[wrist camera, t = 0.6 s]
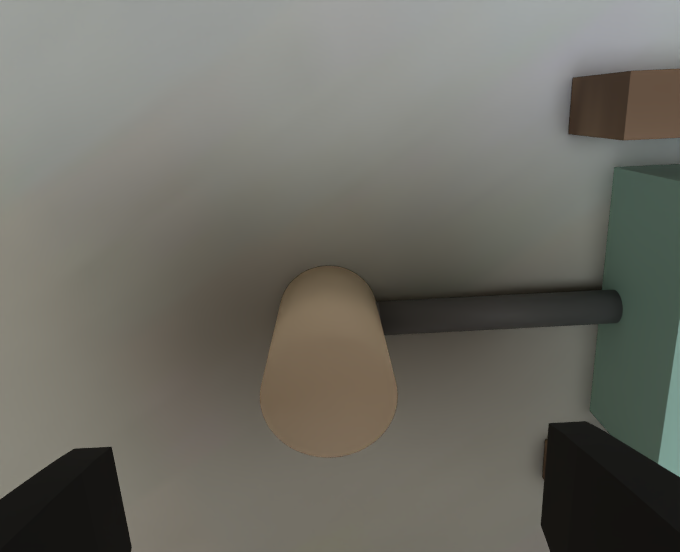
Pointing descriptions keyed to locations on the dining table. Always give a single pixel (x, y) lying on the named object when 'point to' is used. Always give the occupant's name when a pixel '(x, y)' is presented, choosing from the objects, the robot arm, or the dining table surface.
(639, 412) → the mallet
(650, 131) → the tray
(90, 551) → the robot arm
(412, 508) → the dining table surface
